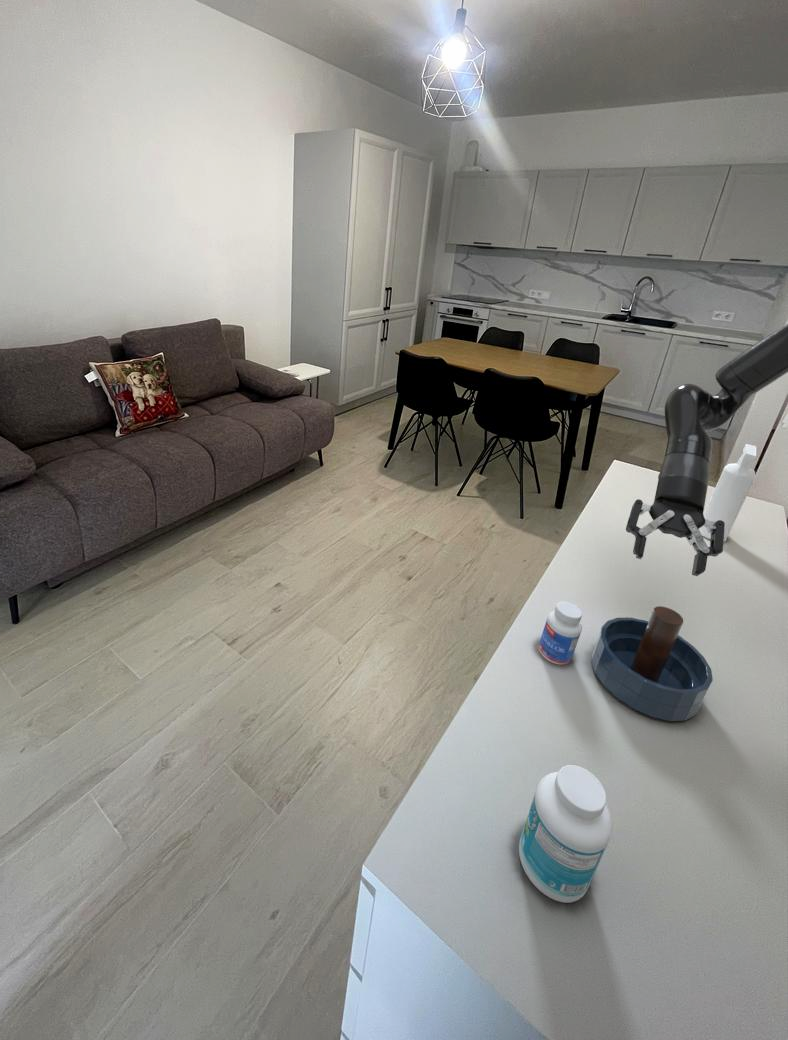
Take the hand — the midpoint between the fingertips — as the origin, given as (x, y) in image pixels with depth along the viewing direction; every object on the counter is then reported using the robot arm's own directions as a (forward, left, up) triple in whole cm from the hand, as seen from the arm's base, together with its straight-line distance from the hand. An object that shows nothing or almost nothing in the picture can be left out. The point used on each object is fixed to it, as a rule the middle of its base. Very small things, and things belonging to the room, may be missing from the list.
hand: (667, 566), depth 86 cm
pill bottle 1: (+8, +18, -15) cm, 25 cm away
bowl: (-4, +12, -15) cm, 20 cm away
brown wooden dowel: (-4, +12, -14) cm, 19 cm away
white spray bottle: (+2, -56, -15) cm, 58 cm away
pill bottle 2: (-7, +49, -15) cm, 52 cm away
